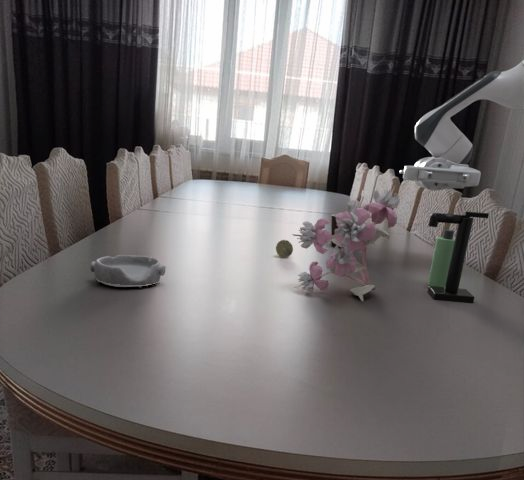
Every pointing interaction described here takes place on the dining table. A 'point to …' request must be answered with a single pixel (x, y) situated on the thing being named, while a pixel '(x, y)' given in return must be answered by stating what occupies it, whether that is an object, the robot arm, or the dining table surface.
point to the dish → (128, 270)
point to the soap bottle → (441, 259)
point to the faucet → (455, 256)
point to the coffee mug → (333, 228)
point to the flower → (348, 241)
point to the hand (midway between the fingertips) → (447, 177)
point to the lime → (284, 248)
